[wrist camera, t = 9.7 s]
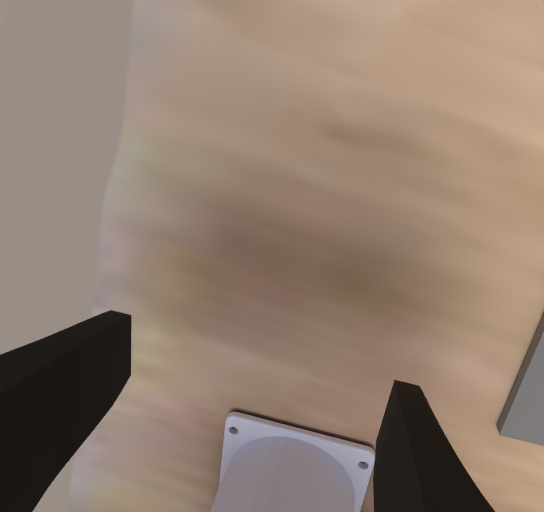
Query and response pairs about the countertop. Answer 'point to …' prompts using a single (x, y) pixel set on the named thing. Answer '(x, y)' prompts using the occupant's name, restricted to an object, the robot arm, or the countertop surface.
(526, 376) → the mat
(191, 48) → the countertop surface
